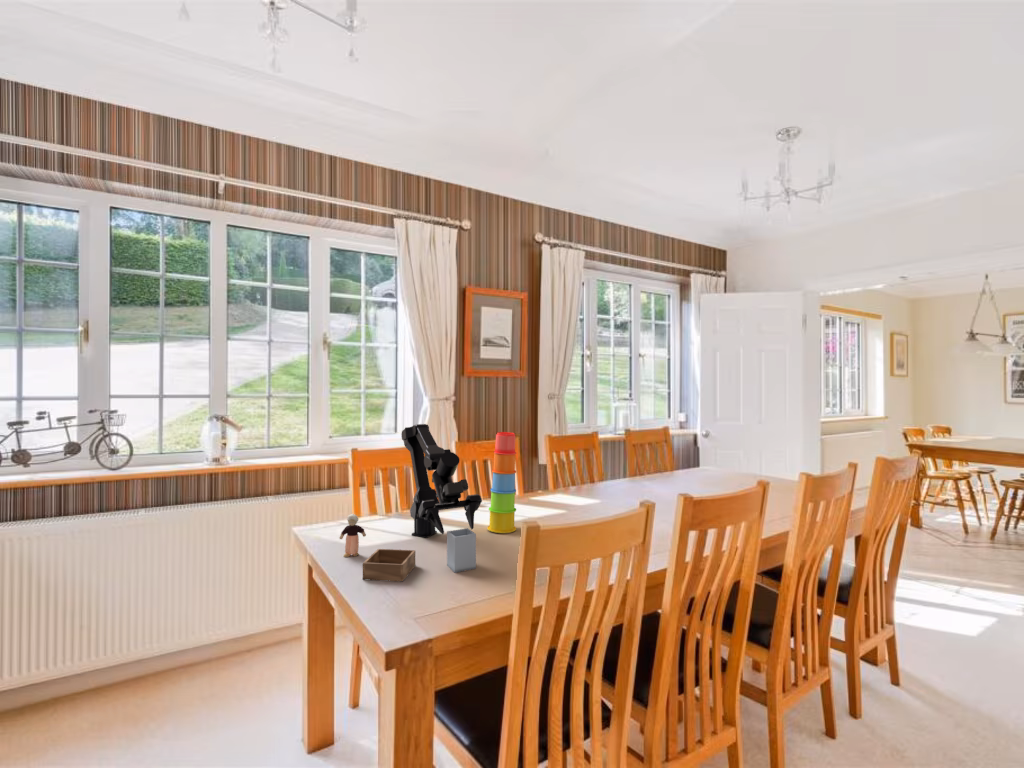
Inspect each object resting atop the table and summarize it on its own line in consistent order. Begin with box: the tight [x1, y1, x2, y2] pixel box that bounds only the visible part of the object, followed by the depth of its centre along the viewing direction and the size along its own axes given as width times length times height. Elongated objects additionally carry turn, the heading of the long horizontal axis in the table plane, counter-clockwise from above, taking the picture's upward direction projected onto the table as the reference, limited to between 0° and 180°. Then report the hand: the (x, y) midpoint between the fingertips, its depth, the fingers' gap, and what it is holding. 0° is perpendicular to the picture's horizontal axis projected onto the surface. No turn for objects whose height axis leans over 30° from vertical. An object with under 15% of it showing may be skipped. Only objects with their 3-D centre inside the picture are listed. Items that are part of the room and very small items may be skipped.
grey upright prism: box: [446, 527, 477, 574], centre depth 146 cm, size 6×6×10 cm
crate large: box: [362, 548, 416, 582], centre depth 142 cm, size 11×11×4 cm
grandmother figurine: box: [338, 513, 367, 558], centre depth 156 cm, size 8×4×13 cm, turn 117°
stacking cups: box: [487, 431, 517, 534], centre depth 181 cm, size 10×10×35 cm
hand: (458, 530), depth 148 cm, fingers open, 9 cm apart
